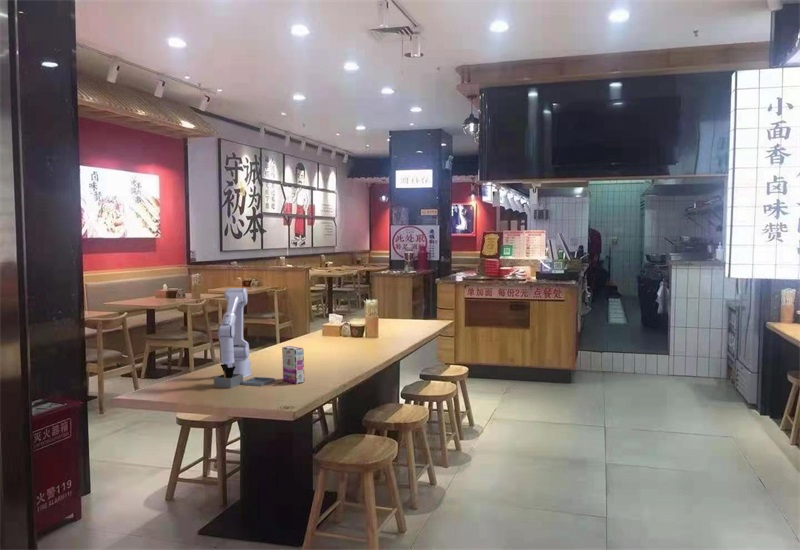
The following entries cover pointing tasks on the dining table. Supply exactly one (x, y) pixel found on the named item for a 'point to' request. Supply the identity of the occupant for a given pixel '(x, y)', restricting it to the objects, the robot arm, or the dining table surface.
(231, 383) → the grey square box
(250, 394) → the dining table surface
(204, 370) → the dining table surface
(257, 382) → the tray
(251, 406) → the dining table surface
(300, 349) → the candy bar box
